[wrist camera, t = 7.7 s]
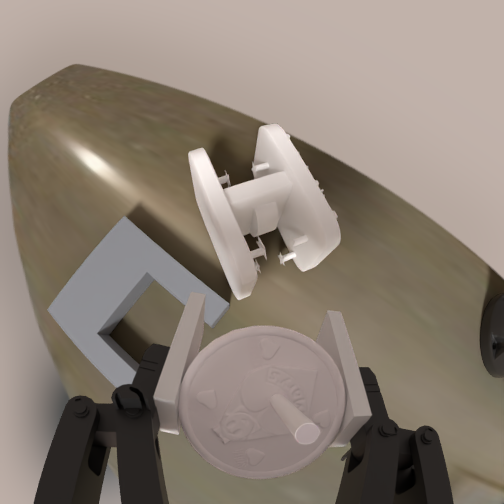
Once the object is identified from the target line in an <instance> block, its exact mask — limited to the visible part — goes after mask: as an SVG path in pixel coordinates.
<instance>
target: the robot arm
mask: <svg viewBox="0 0 504 504" xmlns="http://www.w3.org/2000/svg"><path fill="white" fill-rule="evenodd" d="M205 296H206V294H202V293H196V292H191V293H190V296H189V298H188V301H187V304H186V306H185V309H184V312H183V314H182V317H181V320H180V322H179V325H178V328H177V330H176V333H175V336H174V339H173V341H172V344H171V347H167V346H163V345H158V344H152V345H151V346H150V347H149V348H148V349H147V350H146V351H145V353H144V356H143V358H142V361H141V363H140V365H139V368H138V370H137V372H136V374H135V377H134V379H133V382H132V384H124V385H121V386H119V387H117V388H116V389H115V391H114V392H113V394H112V397H111V398H112V401H113V403H112V404H97V403H94V402H93V400H92V399H90V398H88V397H86V396H76V397H73V398H72V399H70V400H69V401H68V403H67V404H66V406H65V409H64V411H63V414H62V416H61V419H60V422H59V424H58V427H57V429H56V432H55V435H54V438H53V440H52V443H51V446H50V449H49V452H48V455H47V458H46V461H45V464H44V468H43V471H42V474H41V478H40V481H39V485H38V488H37V492H36V496H35V500H34V504H99V500H100V494H101V489H102V484H103V480H104V475H105V471H106V466H107V462H108V458H109V453H110V449H111V447H117V461H118V474H119V485H120V495H121V502H122V504H169V501H168V496H167V491H166V486H165V480H164V475H163V469H162V462H161V455H160V448H159V441H158V436H157V435H158V431H159V427H160V429H161V431H164V432H169V433H173V434H178V435H179V431H180V427H181V422H180V418H179V410H178V403H179V394H180V387H181V383H182V380H183V378H184V375H185V373H186V371H187V369H188V368H189V366H190V364H191V363H192V362H193V360H194V359H195V358H196V356H197V355H198V352H199V348H200V344H201V340H202V336H203V329H204V312H205ZM316 343H318V344H319V345H320V346H321V347H322V348H323V349H324V350H325V351H326V352H327V353H328V354H329V355H330V356H331V358H332V359H333V361H334V362H335V364H336V365H337V367H338V369H339V371H340V374H341V376H342V379H343V383H344V388H345V399H346V401H345V411H344V416H343V420H342V423H341V426H340V429H339V431H338V433H337V435H336V436H335V438H334V440H333V441H332V443H331V444H330V445H329V447H342V446H346V445H347V444H348V442H349V441H350V443H351V449H350V450H349V451H348V452H347V453H346V454H345V455H344V456H343V457H342V459H341V461H343V460H344V459H345V458H346V457H347V458H346V463H345V467H344V472H343V476H342V480H341V484H340V488H339V492H338V496H337V499H336V503H335V504H454V503H453V497H452V492H451V486H450V481H449V477H448V472H447V468H446V463H445V459H444V455H443V451H442V447H441V443H440V440H439V436H438V434H437V432H436V431H435V430H434V429H433V428H432V427H430V426H422V427H420V428H419V429H417V430H416V431H412V430H406V429H401V428H399V427H398V425H397V424H396V423H395V422H394V421H393V420H391V419H389V417H388V414H387V411H386V408H385V404H384V401H383V398H382V395H381V393H380V389H379V386H378V382H377V379H376V376H375V374H374V373H373V372H372V371H371V369H370V368H369V367H358V364H357V361H356V357H355V354H354V351H353V348H352V345H351V341H350V338H349V335H348V332H347V329H346V326H345V323H344V320H343V317H342V314H341V312H339V311H330V310H327V313H326V316H325V319H324V321H323V324H322V327H321V329H320V332H319V335H318V337H317V340H316ZM481 353H482V358H483V362H484V365H485V367H486V369H487V371H488V372H489V373H490V374H491V375H492V376H493V377H496V378H502V377H504V293H503V294H500V295H497V296H495V297H494V298H492V300H491V301H490V302H489V304H488V306H487V308H486V310H485V313H484V316H483V320H482V326H481Z"/></svg>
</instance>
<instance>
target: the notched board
mask: <svg viewBox="0 0 504 504" xmlns="http://www.w3.org/2000/svg"><path fill="white" fill-rule="evenodd" d="M154 279H155V280H156V281H157V282H158V283H159V284H161V285H162V286H163V287H164V288H165V289H166V290H167V291H169V292H170V293H171V294H172V295H173V296H174V297H175V298H177V299H178V300H179V301H180V302H181V303H183V304H184V305H185V306H186V304H187V301H188V298H189V296H190V293H191V292H196V293H202V294H206V296H205V312H204V322H206V323H207V324H208V325H209V326H211V327H212V328H214V326H215V325H216V324H217V323H218V321H219V320H220V319H221V318H222V316H223V315H224V314H225V313H226V311H227V310H228V309H229V303H228V302H226V301H225V300H224V299H223V298H221V297H220V296H219V295H218V294H216V293H215V292H214V291H213V290H211V289H210V288H209V287H208V286H206V285H205V284H204V283H203V282H201V281H200V280H199V279H198V278H196V277H195V276H194V275H193V274H192V273H190V272H189V271H188V270H187V269H186V268H184V267H183V266H182V265H181V264H180V263H178V262H177V261H176V260H175V259H174V258H172V257H171V256H170V255H169V254H168V253H166V252H165V251H164V250H163V249H162V248H161V247H159V246H158V245H157V244H156V243H155V242H154V241H152V240H151V239H150V238H149V237H148V236H147V235H146V234H144V233H143V232H142V231H141V230H140V229H139V228H138V227H136V226H135V225H134V224H133V223H132V222H131V221H130V220H129V219H127V218H126V217H125V216H123V218H122V219H121V220H120V221H119V222H118V223H117V224H116V225H115V226H114V227H113V229H112V230H111V231H110V232H109V233H108V234H107V235H106V236H105V238H104V239H103V240H102V241H101V242H100V243H99V244H98V246H97V247H96V248H95V249H94V250H93V251H92V253H91V254H90V255H89V256H88V257H87V259H86V260H85V261H84V262H83V264H82V265H81V266H80V267H79V269H78V270H77V271H76V272H75V274H74V275H73V276H72V277H71V279H70V280H69V281H68V283H67V284H66V285H65V286H64V288H63V289H62V290H61V292H60V293H59V294H58V296H57V297H56V299H55V300H54V301H53V303H52V304H51V305H50V307H49V308H48V311H49V313H50V314H51V315H52V317H53V318H54V319H55V320H56V322H57V323H58V324H59V325H60V327H61V328H62V329H63V330H64V332H65V333H66V334H67V335H68V337H69V338H70V339H71V340H72V341H73V342H74V344H75V345H76V346H77V347H78V348H79V349H80V350H81V352H82V353H83V354H84V355H85V356H86V357H87V358H88V359H89V360H90V361H91V362H92V364H93V365H94V366H95V367H96V368H97V369H98V370H99V371H100V372H101V373H102V374H103V375H104V376H105V377H106V378H107V379H108V380H109V381H110V382H111V383H112V384H113V385H114V386H115V387H116V388H117V387H119V386H121V385H124V384H132V382H133V379H134V377H135V374H136V372H137V370H138V368H139V364H138V363H137V362H136V361H135V360H134V359H133V358H132V357H131V356H130V355H129V354H128V353H127V352H125V351H124V350H123V349H122V348H121V347H120V346H119V345H118V344H117V343H116V342H115V341H114V340H113V339H112V338H111V337H110V336H109V334H110V333H111V332H112V331H113V329H114V328H115V327H116V326H117V324H118V323H119V322H120V321H121V319H122V318H123V317H124V316H125V314H126V313H127V312H128V311H129V309H130V308H131V307H132V306H133V305H134V303H135V302H136V301H137V300H138V298H139V297H140V296H141V295H142V294H143V292H144V291H145V290H146V289H147V288H148V287H149V285H150V284H151V283H152V282H153V281H154Z"/></svg>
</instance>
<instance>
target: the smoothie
mask: <svg viewBox="0 0 504 504" xmlns="http://www.w3.org/2000/svg"><path fill="white" fill-rule="evenodd" d="M345 401H346V399H345V388H344V383H343V379H342V376H341V374H340V371H339V369H338V367H337V365H336V364H335V362H334V361H333V359H332V358H331V356H330V355H329V354H328V353H327V352H326V351H325V350H324V349H323V348H322V347H321V346H320V345H319V344H318V343H316V342H315V341H314V340H312V339H311V338H309V337H307V336H305V335H303V334H301V333H299V332H296V331H294V330H290V329H287V328H282V327H276V326H251V327H246V328H241V329H237V330H233V331H231V332H229V333H227V334H225V335H223V336H221V337H219V338H217V339H214V340H213V341H212V342H211V343H210V344H209V345H207V346H206V347H205V348H204V349H203V350H202V351H200V352H199V353H198V355H197V356H196V358H195V359H194V360H193V362H192V363H191V364H190V366H189V368H188V369H187V371H186V373H185V375H184V378H183V380H182V383H181V387H180V394H179V403H178V410H179V418H180V422H181V425H182V428H183V431H184V433H185V435H186V438H187V439H188V441H189V443H190V444H191V445H192V447H193V448H194V449H195V451H196V452H197V453H198V454H199V455H200V456H201V457H202V458H203V459H204V460H206V461H207V462H208V463H210V464H211V465H212V466H214V467H216V468H218V469H219V470H222V471H224V472H226V473H229V474H231V475H235V476H238V477H243V478H250V479H269V478H276V477H281V476H285V475H288V474H291V473H293V472H296V471H298V470H300V469H302V468H304V467H306V466H307V465H309V464H310V463H312V462H313V461H314V460H316V459H317V458H318V457H319V456H320V455H321V454H322V453H323V452H324V451H325V450H326V449H327V448H328V447H329V445H330V444H331V443H332V441H333V440H334V438H335V436H336V435H337V433H338V431H339V429H340V426H341V423H342V420H343V416H344V411H345Z"/></svg>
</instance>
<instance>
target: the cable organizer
mask: <svg viewBox="0 0 504 504" xmlns="http://www.w3.org/2000/svg"><path fill="white" fill-rule="evenodd" d="M188 156H189V163H190V169H191V174H192V180H193V186H194V191H195V196H196V201H197V204H198V207H199V210H200V212H201V215H202V218H203V220H204V223H205V225H206V228H207V230H208V233H209V235H210V238H211V241H212V243H213V246H214V248H215V251H216V253H217V256H218V258H219V261H220V263H221V265H222V268H223V270H224V273H225V275H226V278H227V280H228V283H229V285H230V287H231V289H232V291H233V293H234V295H235V296H236V298H237V299H238V300H240V299H243V298H245V297H248V296H250V295H251V292H252V290H253V288H254V286H255V283H256V281H257V272H258V271H259V272H260V268H259V267H260V265H259V264H258V263H257V260H256V263H255V262H254V260H253V258H255V259H256V257H258V256H262V255H264V257H265V258H266V260H267V257H266V251H265V246H264V245H263V243H262V241H261V240H260V238H259V235H262V234H265V233H267V232H270V231H273V230H275V229H276V227H278V229H279V232H280V234H281V236H282V238H283V240H284V242H285V244H286V246H287V248H288V250H289V252H290V253H288V254H286V255H283V256H282V255H281V252H280V255H278V257H279V259H280V264H282V263H283V265H284V262H285V261H287V260H290V259H293V260H294V262H295V264H296V265H297V267H298V268H299V269H300V270H301V271H306V270H309V269H311V268H313V267H316V266H317V265H318V264H319V263H320V262H321V261H322V260H323V259H324V258H325V257H326V256H327V255H328V254H329V253H330V252H332V251H333V250H334V249H335V248H336V247H337V246H338V245H339V243H340V240H341V234H340V229H339V225H338V222H337V219H336V218H338V216H337V214H336V212H335V211H332V210H331V208H330V206H329V204H328V202H327V201H326V199H325V194H324V195H323V193H322V192H323V189H322V190H320V188H319V187H318V185H319V182H318V181H317V180H314V178H313V176H312V175H311V173H310V171H309V170H308V166H306V165H305V163H304V161H303V160H302V158H301V156H300V155H299V152H297V150H296V148H295V147H294V145H293V144H292V142H291V140H290V135H289V134H286V133H285V131H284V130H283V128H282V127H281V126H280V125H278V124H276V123H273V124H269V125H264V126H261V127H260V128H259V131H258V138H257V144H256V151H255V157H254V164H253V168H252V169H251V170H252V171H253V175H254V180H250V181H247V182H244V183H241V184H238V185H235V186H231V185H230V180H229V175H227V173H226V175H225V176H222V177H219V178H218V177H217V175H216V172H215V170H214V168H213V166H212V163H211V161H210V159H209V157H208V155H207V153H206V151H205V150H204V149H203V148H199V149H196V150H193V151H190V152H189V153H188ZM252 163H253V161H252ZM225 172H226V170H225ZM226 182H227V183H228V188H225V189H223V188H222V186H221V184H223V183H226ZM229 185H230V186H231V187H229ZM249 233H250V234H251V235H252V236H253V237H256V236H258V241H259V242H257V241H256V242H257V244H258V246H259V249H256V250H253V251H250V250H249V247H248V245H247V243H246V240H245V238H244V235H246V234H249ZM284 266H285V265H284ZM260 274H261V272H260Z"/></svg>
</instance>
